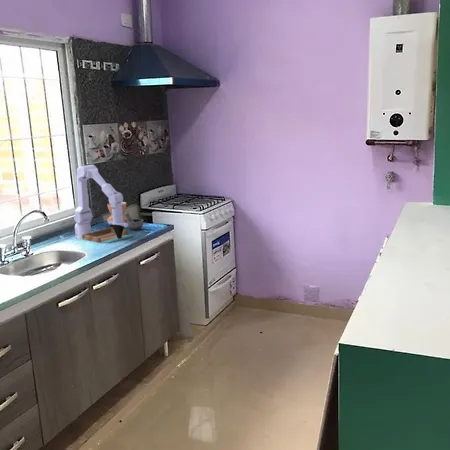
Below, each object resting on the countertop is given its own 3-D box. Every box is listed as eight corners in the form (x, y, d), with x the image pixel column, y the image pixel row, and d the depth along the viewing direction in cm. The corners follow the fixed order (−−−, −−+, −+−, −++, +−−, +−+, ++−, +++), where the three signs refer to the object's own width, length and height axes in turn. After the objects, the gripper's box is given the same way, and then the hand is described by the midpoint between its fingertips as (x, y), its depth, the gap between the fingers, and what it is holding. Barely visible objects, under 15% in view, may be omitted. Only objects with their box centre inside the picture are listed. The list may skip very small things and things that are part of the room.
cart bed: (82, 241, 307) (81, 235, 306) (110, 233, 323) (110, 227, 322) (99, 245, 297) (99, 238, 297) (127, 236, 314) (127, 230, 313)
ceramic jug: (110, 222, 356) (108, 201, 352) (132, 221, 355) (130, 200, 352) (104, 228, 338) (101, 206, 335) (126, 227, 337) (124, 205, 334)
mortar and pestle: (145, 229, 330) (144, 210, 328) (142, 233, 321) (140, 213, 318) (127, 229, 331) (126, 211, 328) (124, 233, 322) (122, 214, 319)
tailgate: (101, 242, 298) (108, 241, 294) (125, 235, 312) (132, 234, 308) (101, 243, 298) (108, 243, 295) (126, 236, 312) (132, 236, 308)
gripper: (131, 214, 298) (133, 237, 301) (114, 212, 306) (116, 234, 309) (121, 216, 292) (124, 240, 295) (104, 214, 301) (106, 237, 304)
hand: (119, 237), depth 302 cm, fingers closed
